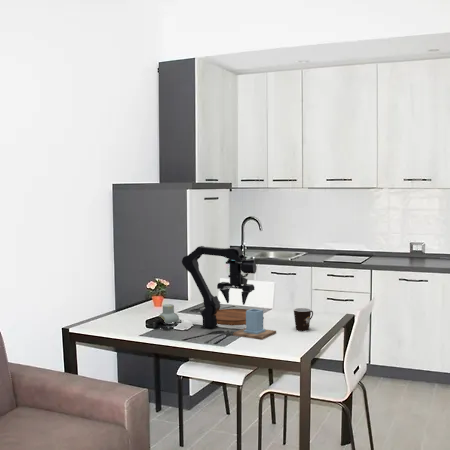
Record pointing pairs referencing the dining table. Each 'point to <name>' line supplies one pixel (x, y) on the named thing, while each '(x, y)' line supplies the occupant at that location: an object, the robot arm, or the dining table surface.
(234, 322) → the cutting board
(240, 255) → the robot arm
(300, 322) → the coffee mug
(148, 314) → the dining table surface
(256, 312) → the light blue square holder
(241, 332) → the locating plate
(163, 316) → the air freshener
